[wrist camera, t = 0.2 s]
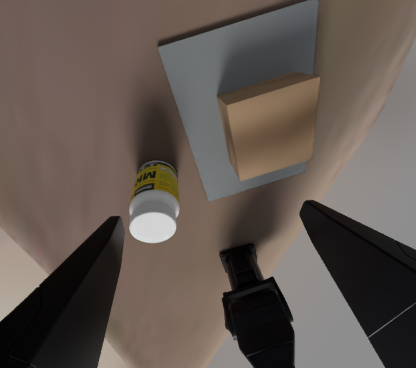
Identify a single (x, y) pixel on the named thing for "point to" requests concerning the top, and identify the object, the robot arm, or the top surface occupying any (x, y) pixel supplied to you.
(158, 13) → the top surface
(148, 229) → the supplement bottle
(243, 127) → the base block
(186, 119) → the build mat
